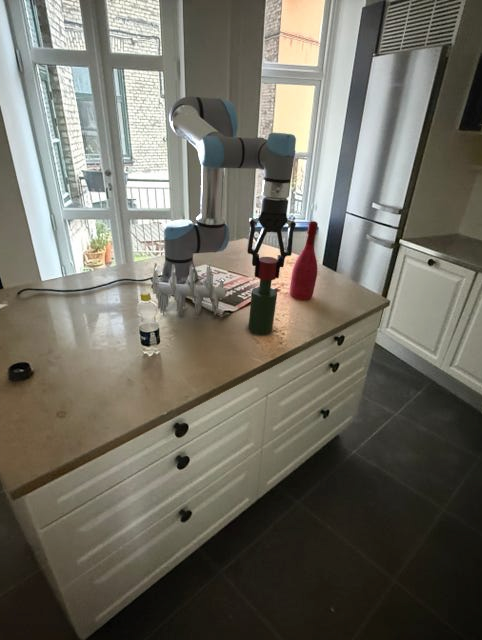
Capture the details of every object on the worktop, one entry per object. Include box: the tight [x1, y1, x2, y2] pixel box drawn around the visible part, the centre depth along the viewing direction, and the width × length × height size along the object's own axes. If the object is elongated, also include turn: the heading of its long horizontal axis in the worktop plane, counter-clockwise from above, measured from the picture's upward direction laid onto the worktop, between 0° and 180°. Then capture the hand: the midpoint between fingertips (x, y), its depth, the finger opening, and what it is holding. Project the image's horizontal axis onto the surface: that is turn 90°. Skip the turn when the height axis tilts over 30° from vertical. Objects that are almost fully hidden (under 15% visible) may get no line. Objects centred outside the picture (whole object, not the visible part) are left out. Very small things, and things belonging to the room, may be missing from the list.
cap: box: [256, 256, 278, 281], centre depth 115 cm, size 6×6×6 cm
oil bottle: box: [247, 279, 278, 336], centre depth 121 cm, size 8×8×22 cm
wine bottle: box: [289, 220, 318, 301], centre depth 144 cm, size 10×10×30 cm
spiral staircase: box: [152, 262, 226, 317], centre depth 129 cm, size 18×18×25 cm
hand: (266, 276), depth 116 cm, fingers closed on cap, 6 cm apart
